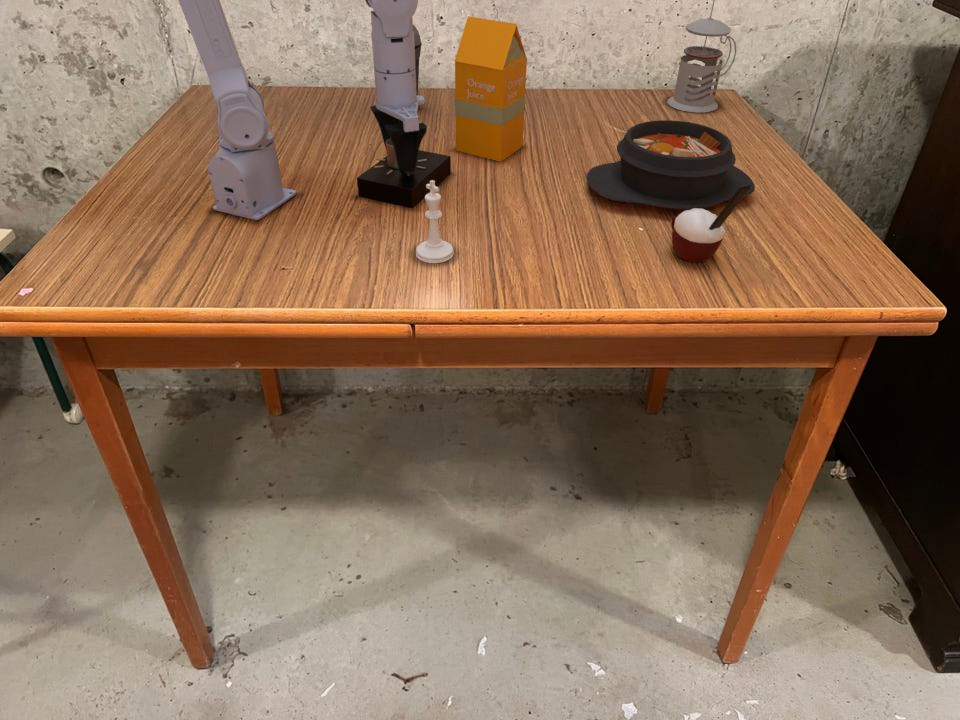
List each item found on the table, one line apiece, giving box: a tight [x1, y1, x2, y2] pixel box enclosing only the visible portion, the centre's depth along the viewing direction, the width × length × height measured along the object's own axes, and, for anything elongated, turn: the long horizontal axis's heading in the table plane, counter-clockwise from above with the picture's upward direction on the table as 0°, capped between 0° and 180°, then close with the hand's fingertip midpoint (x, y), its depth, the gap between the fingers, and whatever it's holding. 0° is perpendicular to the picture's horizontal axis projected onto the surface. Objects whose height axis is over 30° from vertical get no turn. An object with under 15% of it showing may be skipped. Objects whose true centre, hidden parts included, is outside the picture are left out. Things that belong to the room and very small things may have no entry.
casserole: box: [586, 119, 756, 210], centre depth 101 cm, size 25×19×8 cm
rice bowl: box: [670, 185, 751, 263], centre depth 85 cm, size 10×6×12 cm, turn 6°
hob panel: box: [356, 149, 452, 209], centre depth 104 cm, size 13×10×3 cm
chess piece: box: [415, 180, 455, 264], centre depth 86 cm, size 5×5×10 cm
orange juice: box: [454, 15, 528, 163], centre depth 110 cm, size 8×9×20 cm
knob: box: [385, 138, 399, 169], centre depth 102 cm, size 4×4×4 cm
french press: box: [666, 0, 737, 113], centre depth 127 cm, size 10×12×25 cm
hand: (400, 162), depth 103 cm, fingers open, 6 cm apart
